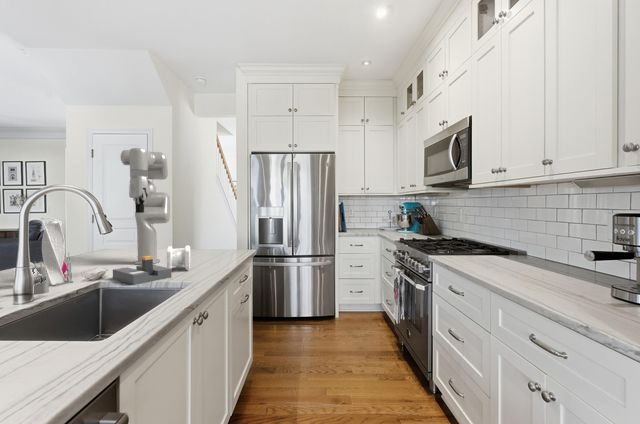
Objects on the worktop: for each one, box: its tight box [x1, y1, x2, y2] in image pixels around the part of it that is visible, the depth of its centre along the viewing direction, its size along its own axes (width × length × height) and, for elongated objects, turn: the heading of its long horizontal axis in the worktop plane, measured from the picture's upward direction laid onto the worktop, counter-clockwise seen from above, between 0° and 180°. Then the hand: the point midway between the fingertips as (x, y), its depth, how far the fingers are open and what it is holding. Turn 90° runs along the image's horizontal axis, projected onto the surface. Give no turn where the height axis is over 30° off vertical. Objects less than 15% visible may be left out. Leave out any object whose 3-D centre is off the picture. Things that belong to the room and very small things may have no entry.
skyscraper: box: [40, 216, 74, 287], centre depth 132 cm, size 8×8×28 cm
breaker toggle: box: [141, 256, 154, 275], centre depth 139 cm, size 3×3×8 cm
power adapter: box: [30, 260, 50, 295], centre depth 119 cm, size 3×5×12 cm, turn 108°
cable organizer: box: [166, 244, 192, 271], centre depth 161 cm, size 15×11×12 cm
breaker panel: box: [112, 264, 172, 286], centre depth 142 cm, size 20×16×4 cm
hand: (139, 212), depth 153 cm, fingers closed
